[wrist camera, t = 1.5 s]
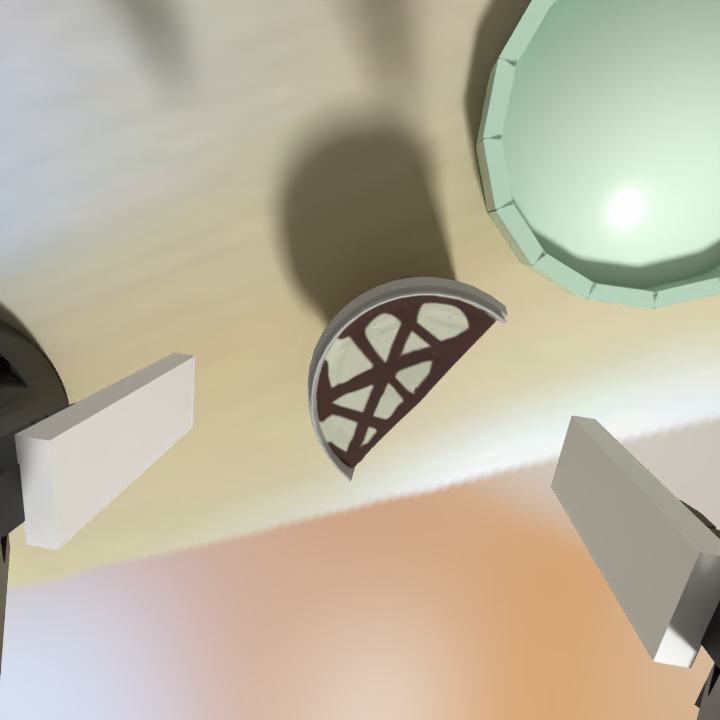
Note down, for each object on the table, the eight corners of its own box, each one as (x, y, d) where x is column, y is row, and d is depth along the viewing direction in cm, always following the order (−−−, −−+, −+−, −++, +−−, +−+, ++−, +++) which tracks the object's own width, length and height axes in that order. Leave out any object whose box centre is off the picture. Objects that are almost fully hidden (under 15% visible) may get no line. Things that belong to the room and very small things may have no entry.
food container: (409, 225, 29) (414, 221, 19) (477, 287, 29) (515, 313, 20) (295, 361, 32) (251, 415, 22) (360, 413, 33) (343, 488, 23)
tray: (450, 276, 29) (455, 280, 27) (521, -95, 24) (535, -132, 21) (757, 320, 28) (790, 328, 26) (908, -55, 23) (967, -89, 20)
